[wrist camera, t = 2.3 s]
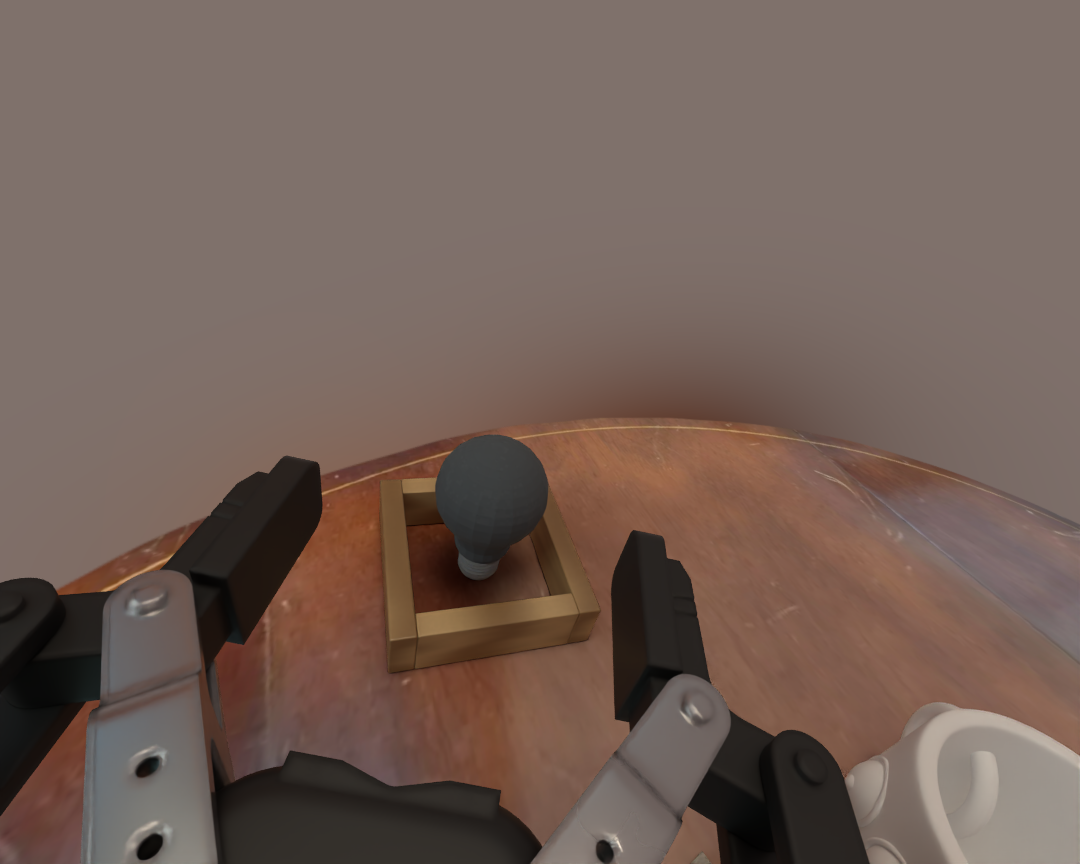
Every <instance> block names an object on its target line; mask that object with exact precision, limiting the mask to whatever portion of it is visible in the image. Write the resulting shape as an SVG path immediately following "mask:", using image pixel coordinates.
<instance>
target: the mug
mask: <svg viewBox="0 0 1080 864" xmlns="http://www.w3.org/2000/svg"><path fill="white" fill-rule="evenodd" d="M844 781H845V784H846V787H847V791H848V794H849V797H850V800H851V804H852V807H853V810H854V814H855V817H856V820H857V823H858V827H859V830H860V833H861V836H862V840H863V843H864V846H865V850H866V853H867V856H868V859H869V863H870V864H1080V756H1079V755H1077V754H1076V753H1074V752H1073V751H1072V750H1070V749H1068V748H1067V747H1065V746H1064V745H1062V744H1061V743H1059V742H1057V741H1056V740H1054V739H1052V738H1051V737H1049V736H1047V735H1045V734H1043V733H1041V732H1040V731H1038V730H1036V729H1034V728H1032V727H1030V726H1028V725H1025V724H1023V723H1021V722H1018V721H1016V720H1014V719H1011V718H1008V717H1005V716H1002V715H999V714H996V713H992V712H987V711H982V710H975V709H961V708H959V707H957V706H955V705H953V704H948V703H943V702H934V703H930V704H927V705H924V706H922V707H921V708H919V709H918V710H917V711H916V712H915V713H913V715H912V716H911V717H910V719H909V720H908V721H907V723H906V725H905V727H904V729H903V732H902V735H901V739H900V741H898V742H897V743H896V744H894V745H893V746H891V747H890V748H888V749H887V750H886V751H884V752H883V753H881V754H880V755H877V756H873V757H871V758H870V759H868V760H867V761H864V762H861V763H859V764H857V765H856V766H854V767H853V768H852V769H851V770H850V772H849V774H848V775H847V777H846V779H845V780H844Z"/></svg>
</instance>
